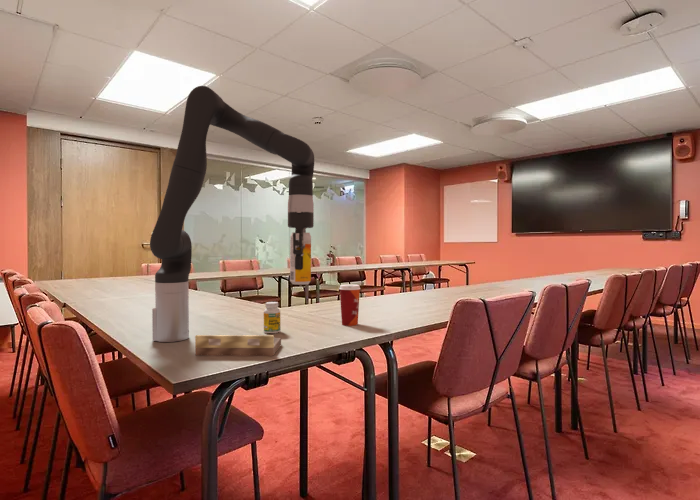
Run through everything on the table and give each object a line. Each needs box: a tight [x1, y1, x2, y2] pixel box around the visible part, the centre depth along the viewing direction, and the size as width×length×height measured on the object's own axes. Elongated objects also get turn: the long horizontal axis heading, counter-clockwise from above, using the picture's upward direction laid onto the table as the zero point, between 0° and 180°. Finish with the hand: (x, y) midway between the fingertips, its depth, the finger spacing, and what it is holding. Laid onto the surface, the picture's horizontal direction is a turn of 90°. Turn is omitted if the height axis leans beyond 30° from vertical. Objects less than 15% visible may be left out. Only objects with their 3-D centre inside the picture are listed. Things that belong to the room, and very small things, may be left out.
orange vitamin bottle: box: [289, 231, 312, 286], centre depth 121 cm, size 6×6×15 cm
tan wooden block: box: [194, 334, 282, 357], centre depth 111 cm, size 20×11×5 cm, turn 89°
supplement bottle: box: [263, 301, 281, 334], centre depth 133 cm, size 5×5×10 cm
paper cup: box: [338, 283, 362, 327], centre depth 146 cm, size 8×8×14 cm
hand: (300, 268), depth 121 cm, fingers closed on orange vitamin bottle, 6 cm apart
